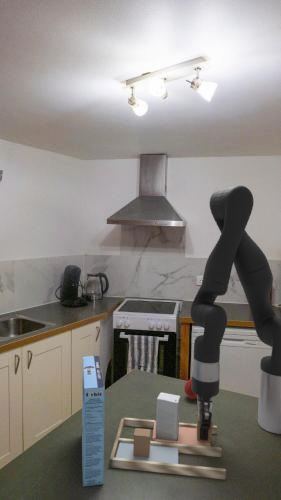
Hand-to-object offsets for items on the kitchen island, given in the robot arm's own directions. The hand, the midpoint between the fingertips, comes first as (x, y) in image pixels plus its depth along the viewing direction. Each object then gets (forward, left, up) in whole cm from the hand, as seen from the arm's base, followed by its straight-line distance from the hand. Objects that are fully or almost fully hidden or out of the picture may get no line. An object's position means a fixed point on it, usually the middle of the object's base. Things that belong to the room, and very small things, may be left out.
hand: (203, 435), depth 91 cm
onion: (+2, -24, -2) cm, 24 cm away
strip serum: (+6, 0, -2) cm, 6 cm away
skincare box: (+10, 0, -2) cm, 10 cm away
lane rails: (+10, +4, -2) cm, 11 cm away
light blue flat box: (+29, +10, -2) cm, 31 cm away
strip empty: (+15, +9, -2) cm, 17 cm away
